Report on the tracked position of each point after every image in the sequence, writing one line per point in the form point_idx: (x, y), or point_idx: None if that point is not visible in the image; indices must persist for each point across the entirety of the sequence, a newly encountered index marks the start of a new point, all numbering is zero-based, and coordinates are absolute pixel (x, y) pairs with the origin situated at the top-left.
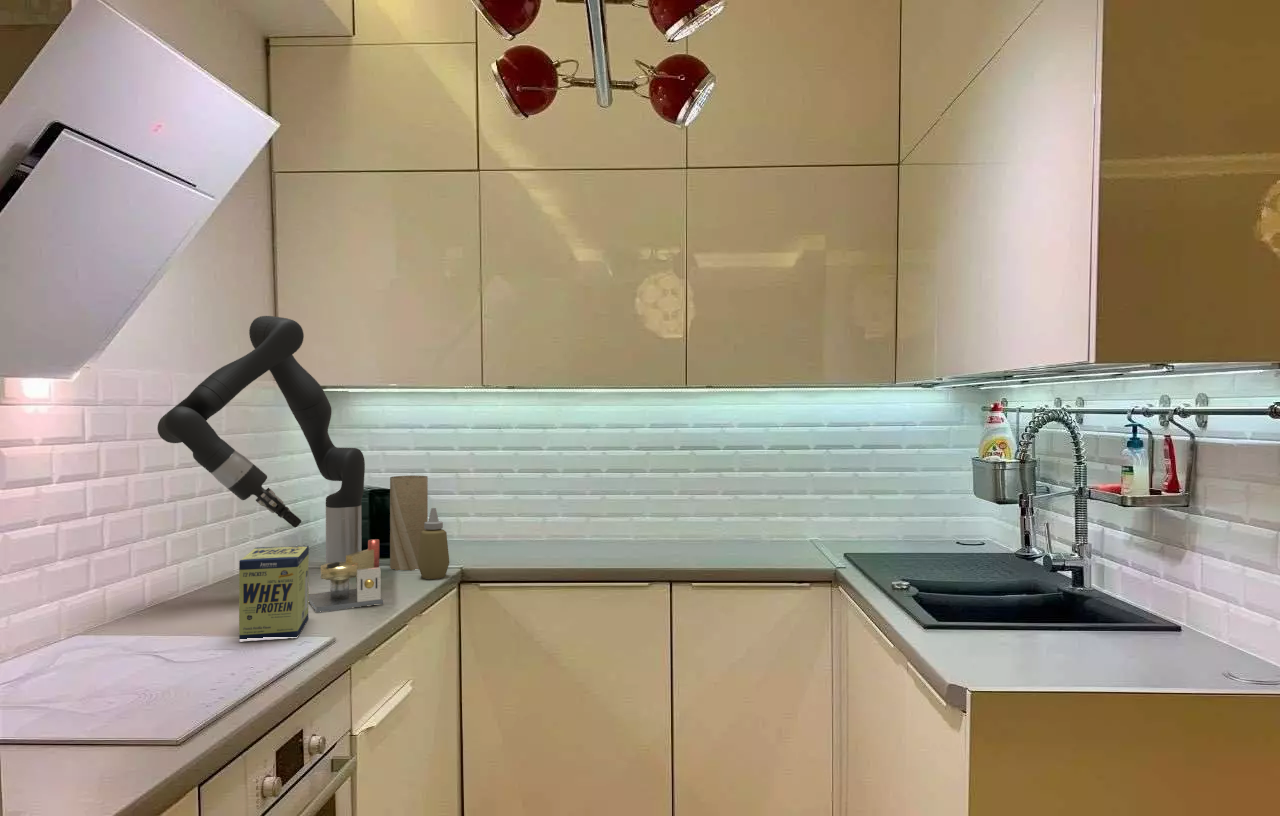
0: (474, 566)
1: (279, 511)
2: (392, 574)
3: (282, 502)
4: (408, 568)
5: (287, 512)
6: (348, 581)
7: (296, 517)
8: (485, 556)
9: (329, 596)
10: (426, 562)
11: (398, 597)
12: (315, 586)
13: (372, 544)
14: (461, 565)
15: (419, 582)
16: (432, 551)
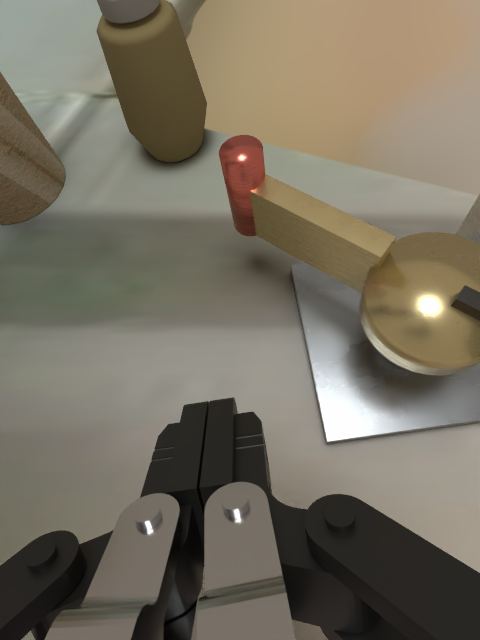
0: (101, 76)
1: (356, 623)
2: (85, 220)
3: (283, 600)
4: (59, 183)
5: (285, 513)
6: None
7: (234, 429)
8: (9, 59)
9: (386, 370)
10: (194, 115)
11: (379, 211)
12: (133, 416)
13: (263, 164)
14: (74, 96)
15: (218, 169)
16: (192, 75)
